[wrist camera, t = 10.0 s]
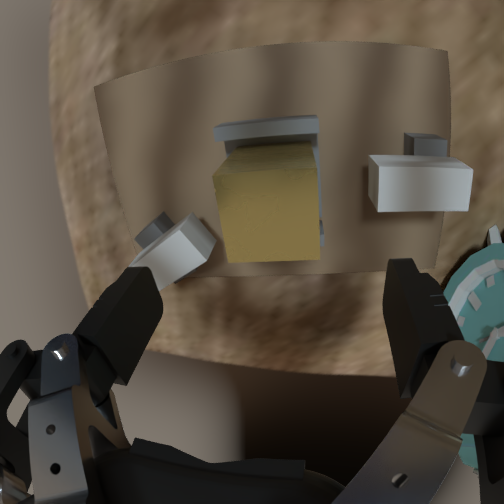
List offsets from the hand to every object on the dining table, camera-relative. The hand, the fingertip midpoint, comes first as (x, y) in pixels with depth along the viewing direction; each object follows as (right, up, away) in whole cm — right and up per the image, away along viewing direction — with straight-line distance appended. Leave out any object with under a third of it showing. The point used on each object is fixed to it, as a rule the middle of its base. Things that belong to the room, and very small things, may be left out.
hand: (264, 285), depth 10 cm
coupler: (+1, +6, +9) cm, 10 cm away
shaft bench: (+1, +7, +11) cm, 13 cm away
